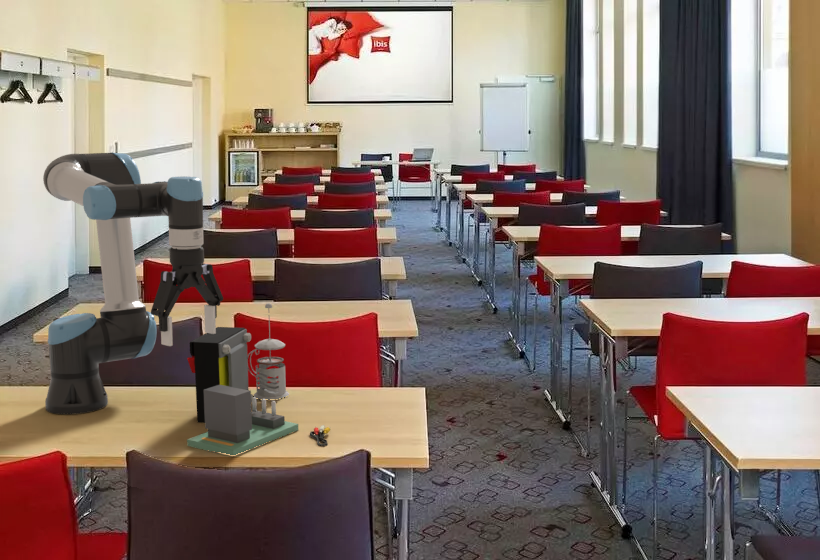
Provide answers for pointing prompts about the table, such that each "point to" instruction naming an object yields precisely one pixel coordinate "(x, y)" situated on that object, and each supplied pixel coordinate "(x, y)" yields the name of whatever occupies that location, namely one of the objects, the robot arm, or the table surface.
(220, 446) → the header board
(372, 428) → the table surface
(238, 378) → the electrical component
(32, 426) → the table surface
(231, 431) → the block
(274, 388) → the french press
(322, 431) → the composite cable
